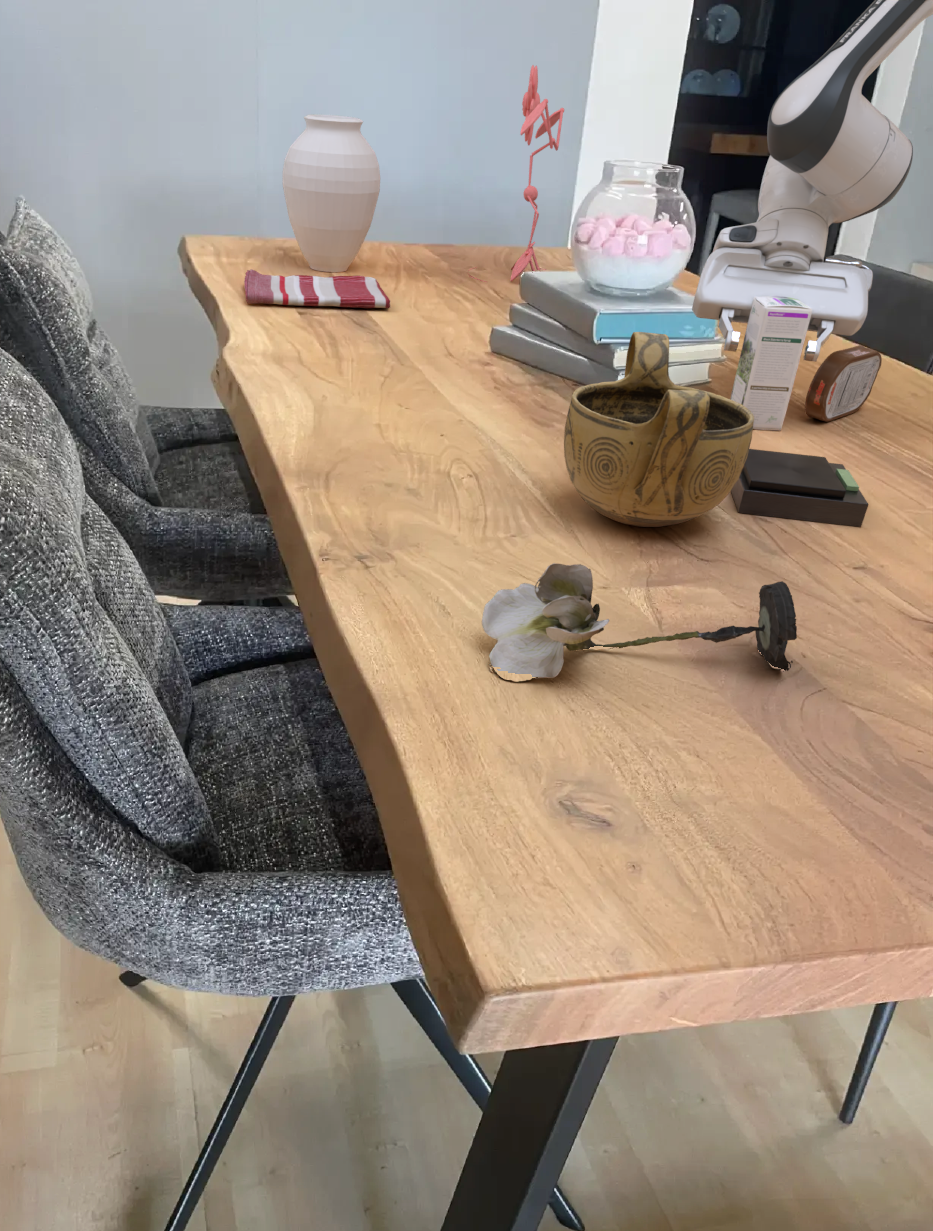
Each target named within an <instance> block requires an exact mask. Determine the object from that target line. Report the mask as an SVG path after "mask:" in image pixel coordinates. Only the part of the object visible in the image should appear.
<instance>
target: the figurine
mask: <svg viewBox="0 0 933 1231" xmlns="http://www.w3.org/2000/svg"><path fill="white" fill-rule="evenodd" d="M538 69H539V68H538V66H537V65H534V64H532V65H531V67H530V71H529V72H530V73H529V78H528V79H529V80H528V87H527V91H526V92H525V93H524V94H523V98H522V103H521V105H522V109H521V110H522V115H523V117H525V119H524V122H523V124H522V126H521V129H520V134H519V135H520V136H523V135H524V142H525V143H527V146H530V145H531V144H532V139H533V134H534V127H535V125H534V124H535V123H536V122H537V121H538V120H539V118H541V119H542V123H541V124H540V126H539V127H538V129H537V131H536V132H535V136H534V138H535V139H538V138H540V137H541V136H542V135H544V134H545V133H546V134H547V135H548V143H545V144H543V146H541V147H539V148H537V149H536V150H534V151H533V152H531V154H530V155H529V168H528V172H529V173H528V185H527V186H526V188H524V190H523V198H524V200H525V201H526V202H528V203H530V204H531V206H532V208H533V211H534V214H533V219H532V226H531V230H530V237H529V241H528V244H527V249H526V250H525V251H524V252H523V253H522V254H521V255H520V256H519V258H518V259H517V260H516V261H515V263H514V264H513V265H512V267H511V268H510V270H511V276H510V280H509V281H510V282H511V283H512V282H513V281H514V280H516V279H517V278H518V277H519V276H521V274H522V273H523V272H524V271H525V269H527V267H528V265H529V266H530V268H531V272H532V271H535V272H536V271H537V270H540V271H541V270H544V271H546V270H547V268H541V267H539V266H540V265H539V263H538V260H537V256H536V254H535V250H534V245H535V244H536V242H535V241H533V237H534V234H535V230H536V227H537V224H538V220H539V216H540V213H539V211H538V204H537V203H536V200H537V199H538V196H539V193H538V192H539V191H538V189H537V187H536V186H534V185H532V173H533V161H534V156H536V155H537V154H538V153H540V152H541V151H543V150H544V149H546V148H548V147H549V148H550V150H552V149H553V148H554V150H555V151H558V150H559V146H560V139H561V130H562V124H563V117H564V112H565V108H564V107H560V108H559V109H558V110H556V111H554V112H552V114H550V112H549V106H548V104H549V100H548V98H544V99H543V101H541V96H540V94H539V92H538V88H539V75H538V74H539V70H538ZM544 111H545V112H544ZM557 123H558V129H557V135H556V139H555V138H554V137H553V135H552V128H553V127H554V126H555V125H556V124H557ZM532 241H533V242H532ZM532 259H533V260H532ZM477 268H478V267H477V266H476V267H475V266H474V267H472V268H470V269H468V271H467V272H469V271H471V270H473V269H477ZM467 275H468V278H472V279H474V280H478V281H481V282H483V283H484V282H485V283H487V280H482V279H479V278H477V277H474V276H472V275H471V274H469V273H467Z"/></svg>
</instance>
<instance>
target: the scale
mask: <svg viewBox="0 0 933 1231" xmlns="http://www.w3.org/2000/svg"><path fill="white" fill-rule="evenodd" d="M730 494H731V496H732V499H733V502H734V506H735V508H736V510H737V513H738V514H744V515H745V514H746V515H754V516H755V515H756V516H763V517H770V518H772V517H773V518H780V519H781V518H782V519H789V520H797V521H807V522H815V523H822V522H824V523H825V524H831V525H840V524H841V525H840V526H849V527H859V528H861V527H862V526H863V523H864V520H865V516H866V514H867V512H868V508H869V502H868V500H866V497H865V496H864V495H863V493H862V492H861V490H860V485H859V484H858V483H857V481H856V480H855V478H854V476H853V475H852V473H851V472H850V470H848V469H846V466H844V464H842V463H835V462H829V461H828V459H827V457H825V456H818V455H810V454H809V455H808V454H801V453H800V454H799V453H792V452H781V451H774V450H764V449H756V448H749V452H748V456H747V459H746V461H745V464H744V466H743V469H742V471H741V474H740V476H739V479H738V480H737V482H736V483H735V485H734V486H733V488H732V489H731V491H730Z"/></svg>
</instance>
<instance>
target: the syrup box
mask: <svg viewBox="0 0 933 1231" xmlns="http://www.w3.org/2000/svg"><path fill="white" fill-rule="evenodd" d="M811 314H812V308H810V307H809V306H807V305H806V304H804V303H803V302H801V301H800V300H797V299H793V298H788V297H779V296H754V299H753V303H752V309H751V312H750V316H749V320H748V324H747V323H746V328H745V334H744V336H743V337H744V338H743V341H742V346H741V351H740V355H739V360H738V364H737V369H736V372H735V376H734V381H733V385H732V390H731V392H730V393H731V394H730V398H729V399H730V400H733V401H735V402H738V403H740V404H742V405H743V406H745V407H746V408H748V409H749V410H750V411H751V412H752V413H753V415H754V422H753V430H764V431H780V432H781V431H782V429H783V426H784V421H785V418H786V414H787V411H788V406H789V403H790V400H791V395H792V392H793V389H794V385H795V380H796V376H797V372H798V368H799V365H800V360H801V357H802V353H803V349H804V344H805V340H806V336H807V333H808V331H807V329H808V325H809V322H810V318H811Z"/></svg>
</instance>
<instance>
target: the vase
mask: <svg viewBox="0 0 933 1231" xmlns="http://www.w3.org/2000/svg"><path fill="white" fill-rule="evenodd" d="M303 119H304V121H305V129H304V130H303V131H302V132H301V133H300V134H299V136H297V138H296V139H295V140H294V141H293V142H292V144H291V145H290V146H289V147H288V150H287V153H286V156H285V158H284V162H283V167H282V188H283V189H282V190H283V194H284V201H285V204H286V210H287V215H288V216H287V217H288V219H289V223H290V226H291V229H292V232H293V234H294V237H295V240H296V242H297V244H298V247H299V250H300V252H301V254H302V255H303V257H304V259H305V260H306V262H307V264H308V266H309V268H310V269H311V270H314V271H318V272H325V273H326V272H327V273H343V272H346V271H348V269H349V267H350V266H351V265H352V263H353V262H354V260H355V259H356V257H357V256H358V254H359V252H360V250H361V248H362V246H363V244H364V242H365V240H366V237H367V235H368V233H369V231H370V228H371V226H372V222H373V217H374V215H375V211H376V207H377V203H378V200H379V195H380V190H381V171H380V164H379V161H378V158H377V154H376V151H375V150H374V149H373V148H372V146H371V145H370V143H369V142H368V140H367V139H366V138H365V137H364V136H363V134H362V131H361V128H362V125H363V123H364V121H363V120H362V119H361V118H359V117H355V116H346V115H337V114H322V113H321V114H320V113H319V114H318V113H317V114H315V113H311V114H306V115H305V116H303Z"/></svg>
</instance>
